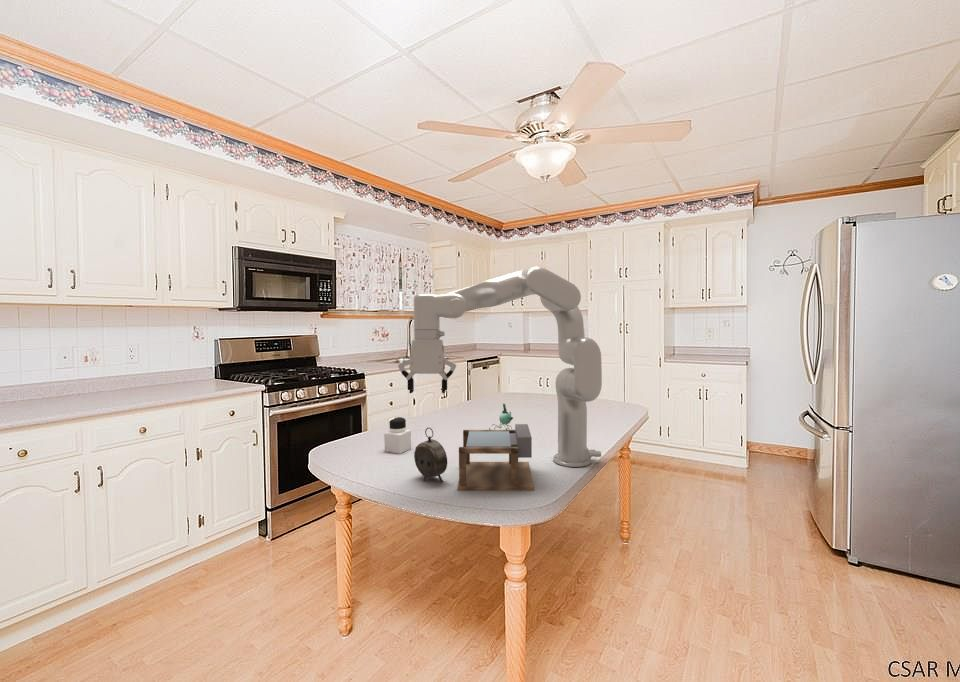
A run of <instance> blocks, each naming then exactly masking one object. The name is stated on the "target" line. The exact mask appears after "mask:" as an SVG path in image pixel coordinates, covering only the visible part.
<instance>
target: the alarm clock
mask: <svg viewBox="0 0 960 682" xmlns="http://www.w3.org/2000/svg"><path fill="white" fill-rule="evenodd" d="M429 429H430V431H431V433H432V435H431V436H430V435H429V436H428V435H427V430H429ZM424 433H425V434H424V435H425V436H426V438H427V440H426V441H423V442H420V443H418V444H417V446H416V447H415V449H414V452H413V455H414V456H413V458H414V463H415V466H416V468H417V470H418V472H419V473H420V474H421V475H422V476H423V482H426V479H433V478H436V477H438V479H439V480H440V483H443V482H444V481H443V479H442V476H441V475H442V474H444V473H445V472H446V470H447V468H448V456H447V452H446V450H445V448H444V446H443V445H442V444H441V443H440V442H439V441H437V440H436V439H432V438H433V437H434V430H433V428H432V427H426V429H425V431H424Z"/></svg>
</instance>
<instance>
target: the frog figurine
mask: <svg viewBox="0 0 960 682" xmlns="http://www.w3.org/2000/svg"><path fill="white" fill-rule="evenodd" d="M502 407H503V408H502V409H503V410H502V412H501V413H500V415H499V422H500V423H499V425H496V424H495V423H492V425H491V427H492V426H495V427H494V428H493V430H496V428H499V429H502V427H504V428H505V430H513V427H512V426H511V425H509V424H510V423H511V421H513V419H514V417H513V416H512V412H511V411H509V412H508V410H507V407H506V404H505V403H502ZM506 426H507V428H506ZM491 427H489V429H488V430H491ZM509 427H510V428H511V429H510V428H509Z"/></svg>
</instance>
